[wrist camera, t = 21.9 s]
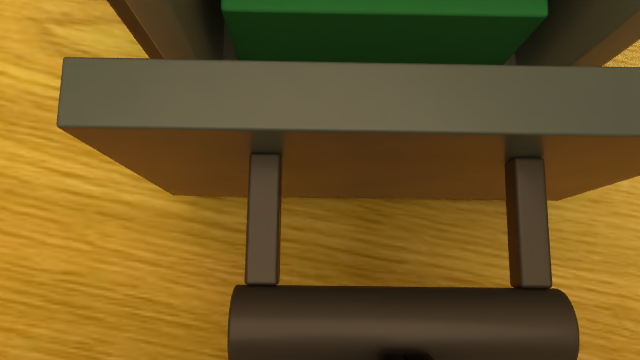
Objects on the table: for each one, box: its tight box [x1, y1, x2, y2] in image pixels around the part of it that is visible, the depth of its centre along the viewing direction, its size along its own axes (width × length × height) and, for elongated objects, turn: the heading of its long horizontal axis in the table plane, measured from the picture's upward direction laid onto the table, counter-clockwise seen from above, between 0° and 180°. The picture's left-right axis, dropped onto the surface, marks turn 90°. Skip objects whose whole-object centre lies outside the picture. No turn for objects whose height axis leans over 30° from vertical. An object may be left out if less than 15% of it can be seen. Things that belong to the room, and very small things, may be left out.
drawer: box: [57, 0, 640, 360], centre depth 13 cm, size 16×11×7 cm
